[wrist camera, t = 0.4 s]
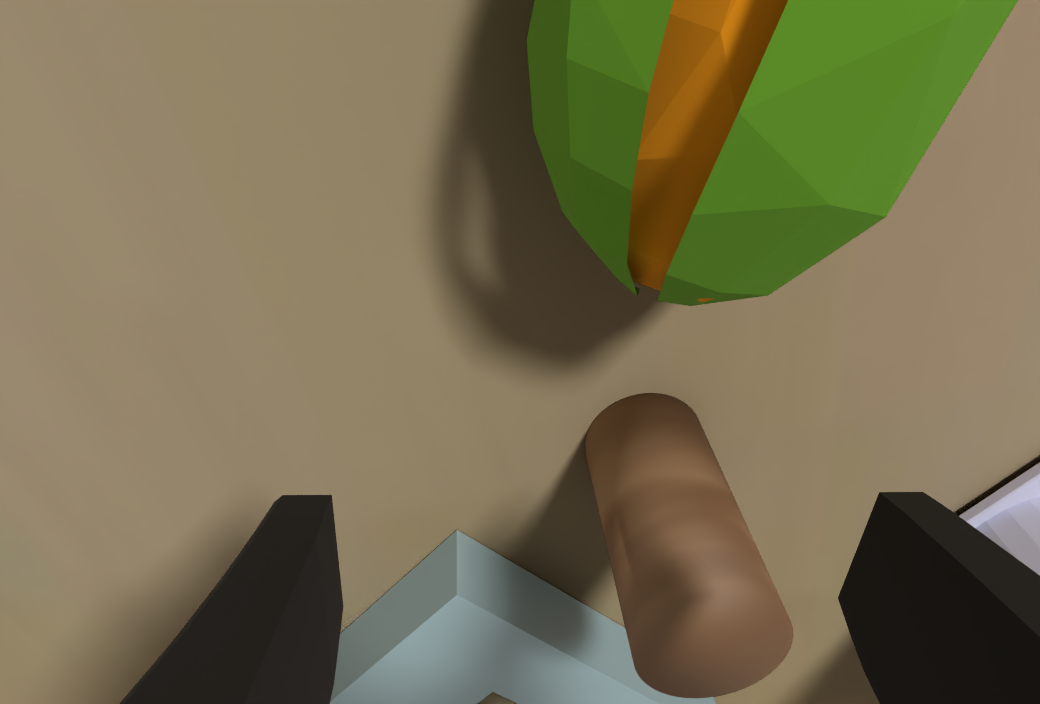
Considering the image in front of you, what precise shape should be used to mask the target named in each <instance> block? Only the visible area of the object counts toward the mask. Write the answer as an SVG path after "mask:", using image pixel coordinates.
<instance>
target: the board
mask: <svg viewBox="0 0 1040 704" xmlns="http://www.w3.org/2000/svg"><path fill="white" fill-rule="evenodd" d="M492 692H494V693H496V694H499V695H501V696H503V697H505V698H507V699H509V700H511V701H513V702H515V703H517V704H716V703H715V700H714V697H709V698H682V697H675V696H671V695H667V694H664V693H661V692H659V691H657V690H655V689H653V688H651V687H650V686H648V685H647V684H646V683H645V682H644V681H642V679H641V678H640V677H639V676H638V674H637V672H636V670H635V667H634V663H633V659H632V655H631V650H630V646H629V642H628V637H627V633H626V629H625V628H624V627H622V626H621V625H619V624H617V623H615V622H614V621H612V620H610V619H609V618H607V617H605V616H603V615H602V614H600V613H598V612H597V611H595V610H593V609H591V608H590V607H588V606H586V605H585V604H583V603H581V602H579V601H578V600H576V599H574V598H573V597H571V596H569V595H567V594H566V593H564V592H562V591H561V590H559V589H557V588H556V587H554V586H552V585H550V584H549V583H547V582H545V581H544V580H542V579H540V578H538V577H537V576H535V575H533V574H532V573H530V572H528V571H526V570H525V569H523V568H521V567H520V566H518V565H516V564H514V563H513V562H511V561H509V560H508V559H506V558H504V557H502V556H501V555H499V554H497V553H496V552H494V551H492V550H490V549H489V548H487V547H485V546H484V545H482V544H480V543H478V542H477V541H475V540H473V539H472V538H470V537H468V536H466V535H465V534H463V533H461V532H460V531H458V530H456V531H455V532H454V533H453V534H452V535H450V536H449V537H448V538H447V539H446V540H445V541H444V542H443V543H441V544H440V545H439V546H438V547H437V548H436V549H435V550H434V551H433V552H431V553H430V554H429V555H428V556H427V557H426V558H425V559H424V560H422V561H421V562H420V563H419V564H418V565H417V566H416V567H415V568H413V569H412V570H411V571H410V572H409V573H408V574H407V575H406V576H405V577H403V578H402V579H401V580H400V581H399V582H398V583H397V584H396V585H394V586H393V587H392V588H391V589H390V590H389V591H388V592H387V593H385V594H384V595H383V596H382V597H381V598H380V599H379V600H378V601H377V602H375V603H374V604H373V605H372V606H371V607H370V608H369V609H368V610H366V611H365V612H364V613H363V614H362V615H361V616H360V617H359V618H357V619H356V620H355V621H354V622H353V623H352V624H351V625H350V626H349V627H347V628H346V629H345V630H344V631H343V632H342V633H341V634H340V639H339V647H338V656H337V664H336V672H335V680H334V686H333V691H332V695H331V700H330V704H477V703H479V702H480V701H481V700H483V699H484V698H485V697H487V696H488V695H489V694H491V693H492Z"/></svg>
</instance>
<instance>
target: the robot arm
mask: <svg viewBox="0 0 1040 704" xmlns="http://www.w3.org/2000/svg"><path fill="white" fill-rule="evenodd" d="M838 599H839V602H840V605H841V608H842V611H843V614H844V617H845V620H846V623H847V626H848V629H849V632H850V635H851V638H852V640H853V643H854V646H855V648H856V651H857V654H858V656H859V659H860V662H861V664H862V667H863V669H864V672H865V674H866V676H867V678H868V680H869V682H870V684H871V686H872V688H873V690H874V692H875V694H876V696H877V698H878V700H879V702H880V704H1040V462H1039V463H1038V464H1036V465H1035V466H1033V467H1032V468H1030V469H1029V470H1027V471H1026V472H1024V473H1023V474H1021V475H1020V476H1018V477H1017V478H1015V479H1014V480H1012V481H1011V482H1009V483H1008V484H1006V485H1005V486H1003V487H1002V488H1000V489H999V490H997V491H996V492H994V493H993V494H991V495H990V496H988V497H987V498H985V499H984V500H982V501H981V502H979V503H977V504H976V505H974V506H973V507H971V508H970V509H968V510H967V511H965V512H964V513H962V514H961V515H959V516H958V515H956V514H955V513H953V512H952V511H951V510H949V509H948V508H946V507H945V506H943V505H942V504H940V503H939V502H937V501H936V500H934V499H933V498H931V497H930V496H928V495H927V494H925V493H924V492H879V494H878V497H877V500H876V502H875V505H874V507H873V510H872V512H871V515H870V517H869V520H868V523H867V525H866V528H865V530H864V533H863V535H862V538H861V540H860V543H859V546H858V548H857V551H856V553H855V556H854V558H853V561H852V563H851V566H850V568H849V571H848V574H847V576H846V579H845V581H844V584H843V586H842V589H841V591H840V594H839V597H838ZM342 612H343V600H342V590H341V580H340V571H339V561H338V552H337V542H336V533H335V523H334V513H333V504H332V495H282V496H281V497H280V498H279V499H278V500H276V501H275V502H274V503H273V505H272V507H271V508H270V510H269V511H268V513H267V514H266V516H265V517H264V519H263V520H262V522H261V523H260V525H259V526H258V528H257V529H256V531H255V532H254V534H253V535H252V536H251V538H250V539H249V541H248V542H247V544H246V545H245V546H244V548H243V549H242V551H241V552H240V554H239V555H238V556H237V558H236V559H235V560H234V562H233V563H232V565H231V566H230V567H229V569H228V570H227V571H226V573H225V574H224V576H223V577H222V578H221V580H220V581H219V582H218V584H217V585H216V586H215V588H214V589H213V590H212V592H211V593H210V594H209V595H208V597H207V598H206V599H205V601H204V602H203V603H202V604H201V606H200V607H199V608H198V610H197V611H196V612H195V613H194V615H193V616H192V617H191V619H190V620H189V621H188V623H187V624H186V625H185V626H184V628H183V629H182V630H181V632H180V633H179V634H178V635H177V637H176V638H175V639H174V640H173V642H172V643H171V644H170V645H169V646H168V648H167V649H166V650H165V651H164V652H163V654H162V655H161V656H160V657H159V658H158V659H157V661H156V662H155V663H154V664H153V665H152V666H151V668H150V669H149V670H148V671H147V672H146V673H145V675H144V676H143V677H142V678H141V679H140V680H139V682H138V683H137V684H136V685H135V686H134V687H133V689H132V690H131V691H130V692H129V693H128V695H127V696H126V697H125V698H124V699H123V700H122V702H121V703H120V704H330V700H331V695H332V691H333V686H334V680H335V672H336V664H337V656H338V647H339V639H340V630H341V621H342Z"/></svg>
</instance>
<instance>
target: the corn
mask: <svg viewBox="0 0 1040 704" xmlns="http://www.w3.org/2000/svg"><path fill="white" fill-rule="evenodd" d="M1017 1H1018V0H535V1H534V6H533V11H532V16H531V21H530V26H529V31H528V36H527V41H526V42H527V55H528V67H529V80H530V93H531V106H532V118H533V130H534V133H535V136H536V139H537V142H538V145H539V147H540V150H541V153H542V156H543V159H544V162H545V164H546V167H547V170H548V173H549V176H550V179H551V181H552V184H553V187H554V190H555V193H556V196H557V198H558V201H559V204H560V207H561V210H562V212H563V213H564V215H565V216H566V217H567V219H568V220H569V221H570V223H571V224H572V225H573V227H574V228H575V229H576V231H577V232H578V233H579V234H580V236H581V237H582V238H583V239H584V240H585V242H586V243H587V244H588V245H589V246H590V248H591V249H592V250H593V251H594V252H595V253H596V255H597V256H598V257H599V258H600V259H601V261H602V262H603V263H604V264H605V265H606V266H607V268H608V269H609V270H610V271H611V272H612V274H613V275H614V276H615V277H616V278H617V279H618V280H619V281H620V282H622V283H623V284H624V285H625V286H626V287H627V288H628V289H630V290H631V291H632V292H633V293H634V294H635V295H636V296H638V293H639V289H638V288H636V287H634V283H633V282H636V283H639V284H642V285H645V286H648V287H651V288H654V289H657V290H660V294H659V297H658V300H657V301H661V302H668V303H675V304H682V305H688V306H693V305H701V304H708V303H715V302H723V301H730V300H737V299H745V298H752V297H759V296H767V295H769V294H771V293H772V292H774V291H775V290H777V289H778V288H780V287H781V286H783V285H784V284H786V283H787V282H789V281H790V280H792V279H793V278H795V277H796V276H798V275H799V274H801V273H802V272H804V271H805V270H807V269H808V268H810V267H811V266H813V265H814V264H816V263H817V262H819V261H820V260H822V259H823V258H825V257H826V256H828V255H829V254H831V253H832V252H834V251H835V250H837V249H838V248H840V247H841V246H843V245H844V244H846V243H847V242H849V241H850V240H852V239H853V238H855V237H856V236H858V235H859V234H861V233H862V232H864V231H865V230H867V229H868V228H870V227H871V226H873V225H874V224H876V223H877V222H879V221H880V220H882V219H883V218H885V217H886V216H887V214H888V213H889V211H890V209H891V208H892V206H893V205H894V203H895V201H896V200H897V198H898V196H899V195H900V193H901V191H902V190H903V188H904V186H905V185H906V183H907V182H908V180H909V178H910V177H911V175H912V173H913V172H914V170H915V168H916V167H917V165H918V163H919V162H920V160H921V159H922V157H923V155H924V154H925V152H926V150H927V149H928V147H929V145H930V144H931V142H932V140H933V139H934V137H935V136H936V134H937V132H938V131H939V129H940V127H941V126H942V124H943V122H944V121H945V119H946V118H947V116H948V114H949V113H950V111H951V109H952V108H953V106H954V104H955V103H956V101H957V99H958V98H959V96H960V95H961V93H962V91H963V90H964V88H965V86H966V85H967V83H968V81H969V80H970V78H971V76H972V75H973V73H974V72H975V70H976V68H977V67H978V65H979V63H980V62H981V60H982V58H983V57H984V55H985V54H986V52H987V50H988V49H989V47H990V45H991V44H992V42H993V40H994V39H995V37H996V35H997V34H998V32H999V31H1000V29H1001V27H1002V26H1003V24H1004V22H1005V21H1006V19H1007V17H1008V16H1009V14H1010V12H1011V11H1012V9H1013V8H1014V6H1015V4H1016V3H1017Z"/></svg>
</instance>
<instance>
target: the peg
mask: <svg viewBox="0 0 1040 704" xmlns="http://www.w3.org/2000/svg"><path fill="white" fill-rule="evenodd" d="M585 454H586V458H587V462H588V467H589V471H590V475H591V480H592V484H593V489H594V493H595V497H596V502H597V506H598V510H599V515H600V519H601V524H602V528H603V532H604V537H605V541H606V545H607V550H608V554H609V559H610V563H611V567H612V572H613V576H614V580H615V585H616V589H617V594H618V598H619V602H620V607H621V611H622V615H623V620H624V624H625V629H626V633H627V637H628V642H629V646H630V650H631V655H632V659H633V663H634V667H635V670H636V672H637V674H638V676H639V677H640V678H641V679H642V681H644V682H645V683H646V684H647V685H648V686H650V687H651V688H653V689H655V690H657V691H659V692H661V693H664V694H667V695H671V696H675V697H682V698H709V697H716V696H721V695H725V694H729V693H732V692H736V691H738V690H741V689H744V688H746V687H748V686H750V685H752V684H754V683H756V682H758V681H759V680H761V679H763V678H764V677H766V676H767V675H768V674H770V673H771V672H772V671H773V670H774V669H776V668H777V667H778V665H779V664H780V663H781V662H782V661H783V660H784V658H785V657H786V655H787V654H788V652H789V650H790V647H791V644H792V641H793V627H792V624H791V621H790V619H789V617H788V614H787V612H786V610H785V608H784V606H783V604H782V601H781V599H780V597H779V595H778V593H777V590H776V588H775V586H774V584H773V582H772V579H771V577H770V575H769V573H768V571H767V568H766V566H765V564H764V562H763V560H762V558H761V555H760V553H759V551H758V549H757V547H756V544H755V542H754V540H753V538H752V536H751V533H750V531H749V529H748V527H747V525H746V523H745V520H744V518H743V516H742V514H741V512H740V509H739V507H738V505H737V503H736V501H735V498H734V496H733V494H732V492H731V490H730V487H729V485H728V483H727V481H726V479H725V477H724V474H723V472H722V470H721V468H720V466H719V463H718V461H717V459H716V457H715V455H714V452H713V450H712V448H711V446H710V444H709V441H708V439H707V437H706V435H705V433H704V431H703V428H702V426H701V424H700V422H699V420H698V418H697V416H696V414H695V413H694V411H693V410H692V409H691V408H690V407H689V406H688V405H687V404H685V403H684V402H682V401H681V400H679V399H677V398H675V397H672V396H669V395H664V394H657V393H645V394H637V395H633V396H629V397H626V398H624V399H621V400H619V401H617V402H615V403H613V404H612V405H610V406H608V407H607V408H606V409H605V410H603V411H602V412H601V413H600V414H599V415H598V416H597V417H596V419H595V420H594V421H593V422H592V424H591V426H590V428H589V430H588V432H587V435H586V439H585Z"/></svg>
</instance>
